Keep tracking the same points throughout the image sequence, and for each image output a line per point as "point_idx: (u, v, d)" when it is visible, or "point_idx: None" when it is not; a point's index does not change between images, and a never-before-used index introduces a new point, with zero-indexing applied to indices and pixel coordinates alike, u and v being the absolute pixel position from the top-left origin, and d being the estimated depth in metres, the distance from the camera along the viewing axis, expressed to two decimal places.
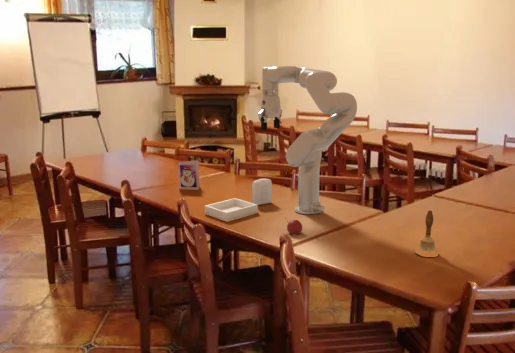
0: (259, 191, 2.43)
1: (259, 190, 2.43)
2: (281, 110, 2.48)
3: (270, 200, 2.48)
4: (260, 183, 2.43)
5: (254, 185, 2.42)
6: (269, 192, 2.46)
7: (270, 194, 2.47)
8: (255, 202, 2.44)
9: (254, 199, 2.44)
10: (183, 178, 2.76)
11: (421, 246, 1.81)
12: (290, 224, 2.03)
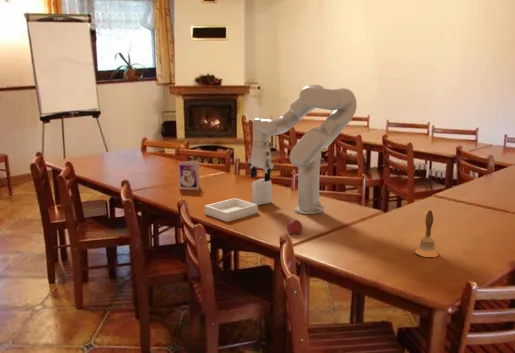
0: (259, 191, 2.43)
1: (259, 190, 2.43)
2: (250, 159, 2.50)
3: (270, 200, 2.48)
4: (260, 183, 2.43)
5: (254, 185, 2.42)
6: (269, 192, 2.46)
7: (270, 194, 2.47)
8: (255, 202, 2.44)
9: (254, 199, 2.44)
10: (183, 178, 2.76)
11: (421, 246, 1.81)
12: (290, 224, 2.03)
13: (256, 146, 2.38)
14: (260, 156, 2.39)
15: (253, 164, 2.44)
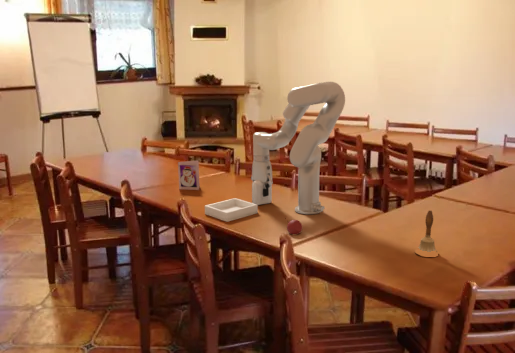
0: (259, 191, 2.43)
1: (259, 189, 2.43)
2: None
3: (270, 200, 2.48)
4: (260, 183, 2.43)
5: (254, 185, 2.42)
6: (269, 192, 2.46)
7: (270, 194, 2.47)
8: (255, 202, 2.44)
9: (254, 199, 2.44)
10: (183, 178, 2.76)
11: (421, 246, 1.81)
12: (290, 224, 2.03)
13: (257, 160, 2.40)
14: (261, 170, 2.41)
15: (254, 178, 2.46)
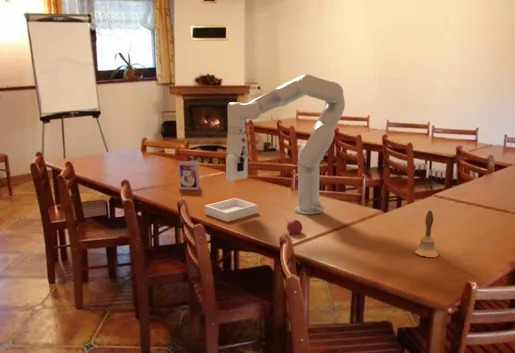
0: (233, 165, 2.28)
1: (234, 164, 2.28)
2: None
3: (246, 175, 2.33)
4: (234, 157, 2.28)
5: (228, 159, 2.27)
6: (244, 167, 2.31)
7: (246, 169, 2.32)
8: (229, 177, 2.29)
9: (228, 174, 2.29)
10: (183, 178, 2.76)
11: (421, 246, 1.81)
12: (290, 224, 2.03)
13: (231, 132, 2.25)
14: (235, 143, 2.26)
15: (229, 152, 2.31)
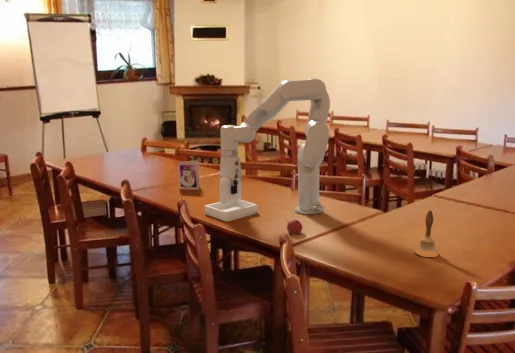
0: (226, 188, 2.27)
1: (227, 187, 2.27)
2: None
3: (239, 198, 2.31)
4: (227, 180, 2.26)
5: (221, 182, 2.26)
6: (237, 189, 2.30)
7: (239, 192, 2.31)
8: (223, 200, 2.27)
9: (221, 197, 2.27)
10: (183, 178, 2.76)
11: (421, 246, 1.81)
12: (290, 224, 2.03)
13: (224, 155, 2.23)
14: (229, 166, 2.24)
15: (222, 175, 2.29)
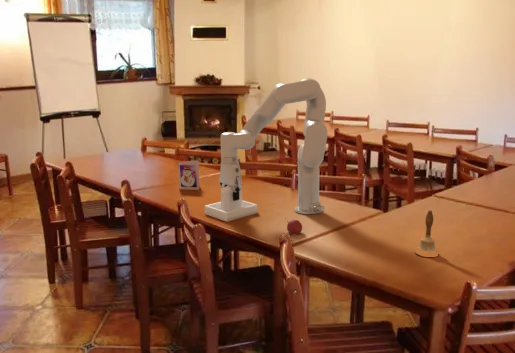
0: (228, 198, 2.27)
1: (229, 197, 2.28)
2: None
3: None
4: (229, 190, 2.27)
5: (223, 192, 2.27)
6: (239, 199, 2.31)
7: (240, 201, 2.32)
8: (224, 210, 2.28)
9: (223, 207, 2.28)
10: (183, 178, 2.76)
11: (421, 246, 1.81)
12: (290, 224, 2.03)
13: (224, 162, 2.24)
14: (229, 173, 2.25)
15: (222, 181, 2.30)
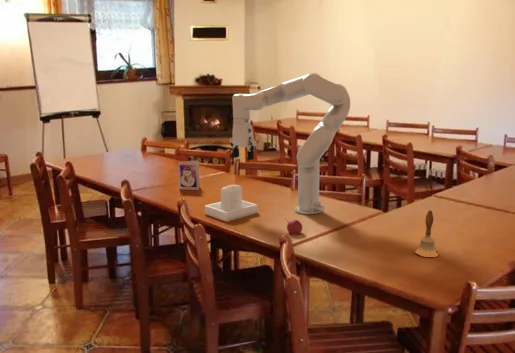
0: (228, 198, 2.28)
1: (229, 197, 2.28)
2: None
3: None
4: (229, 190, 2.27)
5: (223, 192, 2.27)
6: (239, 199, 2.31)
7: (240, 201, 2.32)
8: (224, 210, 2.28)
9: (223, 207, 2.28)
10: (183, 178, 2.76)
11: (421, 246, 1.81)
12: (290, 224, 2.03)
13: (237, 123, 2.28)
14: (242, 134, 2.29)
15: (235, 143, 2.33)
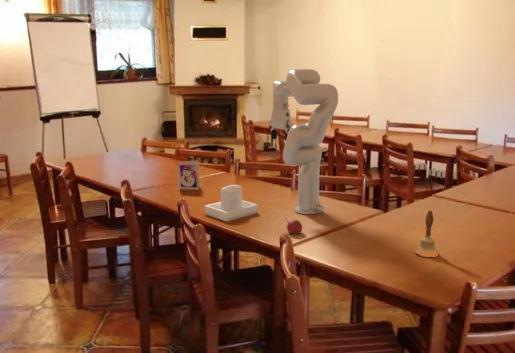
0: (228, 198, 2.28)
1: (229, 197, 2.28)
2: (270, 122, 2.62)
3: None
4: (229, 190, 2.27)
5: (223, 192, 2.27)
6: (239, 199, 2.31)
7: (240, 201, 2.32)
8: (224, 210, 2.28)
9: (223, 207, 2.28)
10: (183, 178, 2.76)
11: (421, 246, 1.81)
12: (290, 224, 2.03)
13: (276, 108, 2.51)
14: (280, 117, 2.52)
15: (273, 126, 2.57)
